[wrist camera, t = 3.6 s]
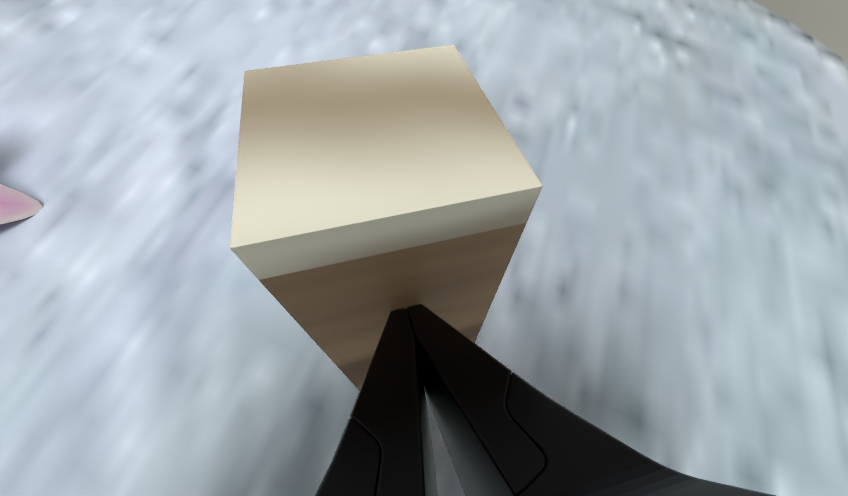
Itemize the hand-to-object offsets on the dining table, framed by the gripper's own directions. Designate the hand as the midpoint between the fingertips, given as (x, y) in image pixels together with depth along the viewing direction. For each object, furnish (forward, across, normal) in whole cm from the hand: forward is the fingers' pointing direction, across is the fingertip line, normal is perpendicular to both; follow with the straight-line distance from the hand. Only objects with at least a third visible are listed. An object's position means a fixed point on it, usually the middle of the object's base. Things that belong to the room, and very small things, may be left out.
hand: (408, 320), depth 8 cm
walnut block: (+6, 0, +5) cm, 8 cm away
